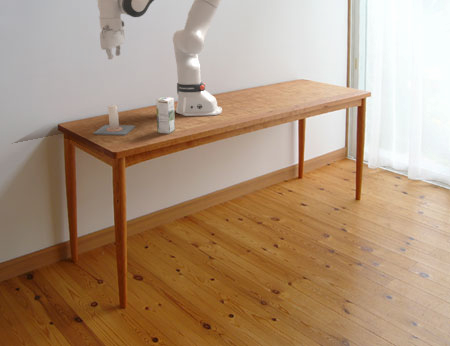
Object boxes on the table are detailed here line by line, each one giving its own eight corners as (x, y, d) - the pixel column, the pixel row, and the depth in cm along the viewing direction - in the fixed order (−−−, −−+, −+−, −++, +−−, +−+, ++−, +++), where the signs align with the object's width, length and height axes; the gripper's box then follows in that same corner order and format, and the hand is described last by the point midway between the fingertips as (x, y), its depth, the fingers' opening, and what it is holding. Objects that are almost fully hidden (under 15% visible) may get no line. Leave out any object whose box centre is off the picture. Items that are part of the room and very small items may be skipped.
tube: (120, 127, 240) (118, 105, 236) (117, 130, 236) (115, 107, 232) (111, 127, 240) (110, 105, 237) (108, 130, 237) (106, 107, 233)
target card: (135, 127, 243) (134, 125, 243) (125, 135, 231) (124, 133, 231) (105, 126, 245) (105, 124, 245) (93, 134, 233) (93, 132, 233)
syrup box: (163, 129, 239) (161, 96, 234) (175, 130, 237) (174, 97, 232) (157, 132, 234) (155, 99, 229) (169, 134, 232) (167, 100, 227)
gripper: (109, 27, 223) (113, 61, 228) (125, 21, 242) (129, 53, 247) (94, 27, 224) (98, 61, 229) (112, 22, 243) (115, 53, 248)
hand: (114, 57), depth 238 cm, fingers open, 8 cm apart
